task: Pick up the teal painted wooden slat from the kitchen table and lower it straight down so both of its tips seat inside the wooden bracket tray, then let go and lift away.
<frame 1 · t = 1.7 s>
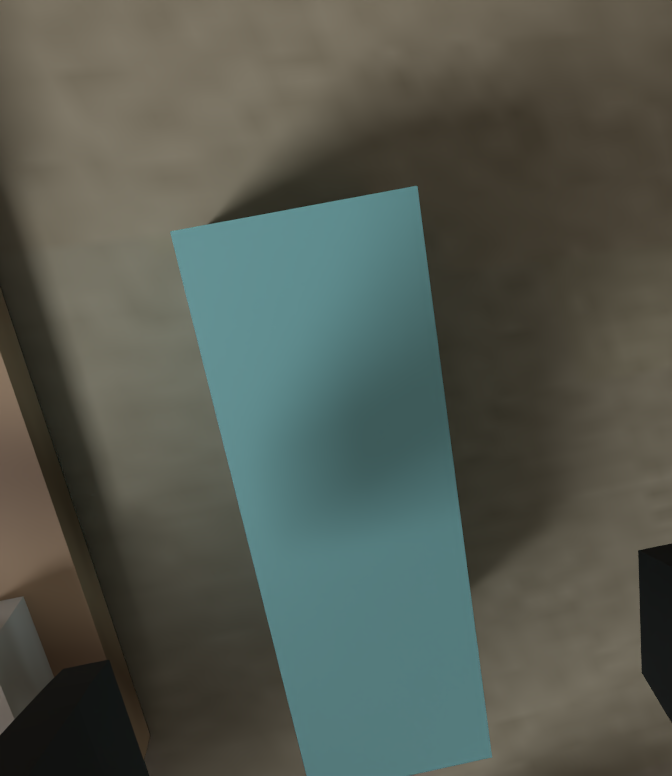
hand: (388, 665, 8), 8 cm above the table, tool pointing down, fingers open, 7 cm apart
slat: (334, 440, 16), on the table
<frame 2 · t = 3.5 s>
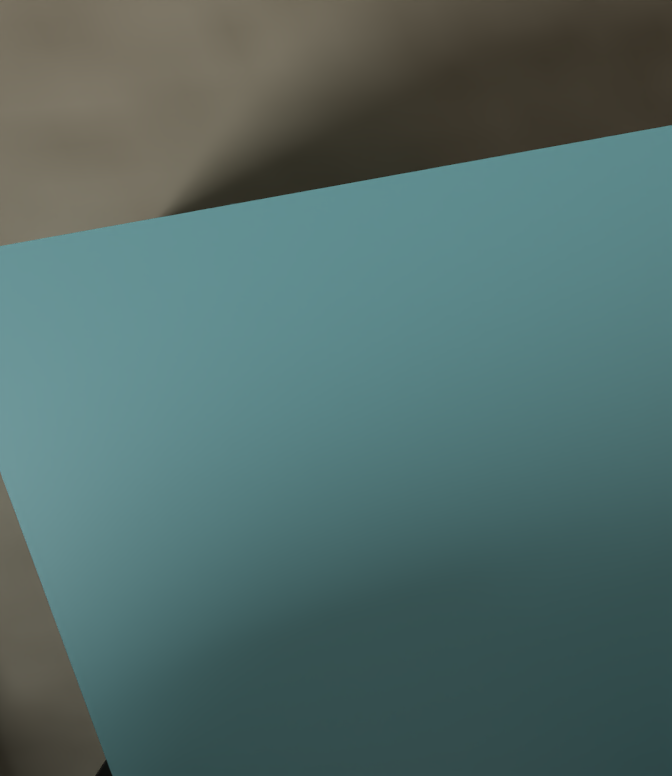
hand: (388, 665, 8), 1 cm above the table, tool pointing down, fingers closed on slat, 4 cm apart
slat: (372, 595, 9), on the table, touching gripper
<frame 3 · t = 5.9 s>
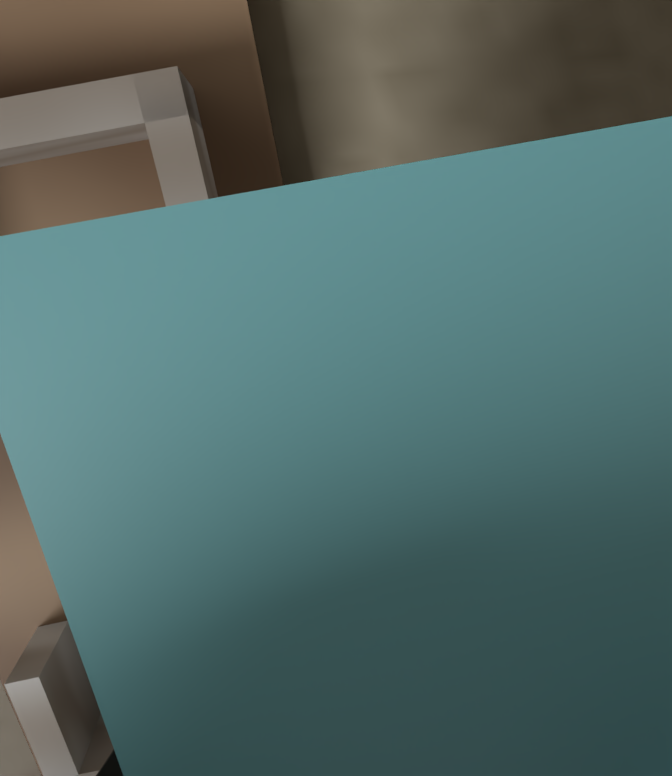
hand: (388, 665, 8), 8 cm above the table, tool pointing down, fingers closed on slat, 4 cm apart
slat: (372, 590, 10), point 7 cm above the table, touching gripper
wooden bracket tray: (138, 446, 16), on the table
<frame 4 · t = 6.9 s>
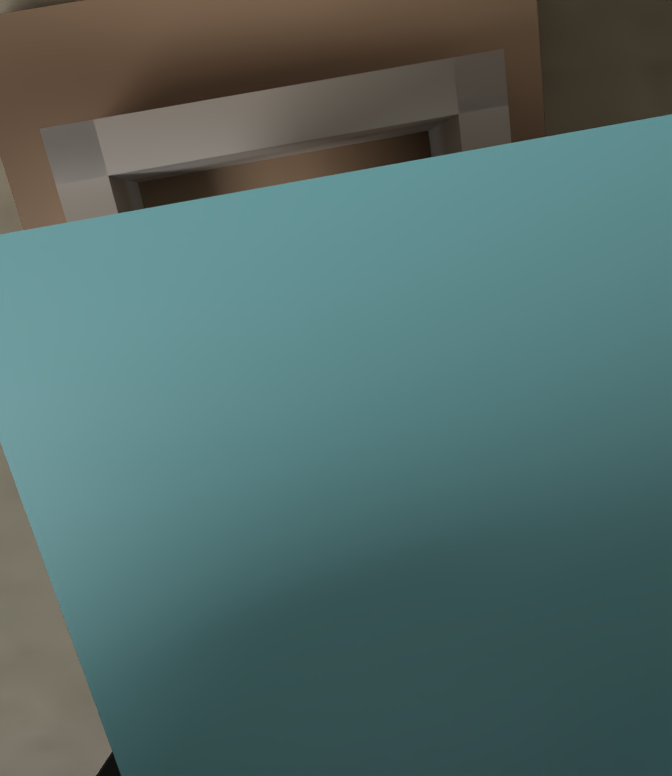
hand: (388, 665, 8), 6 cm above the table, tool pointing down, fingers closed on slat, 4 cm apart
slat: (370, 589, 10), point 5 cm above the table, touching gripper
wooden bracket tray: (341, 473, 14), on the table
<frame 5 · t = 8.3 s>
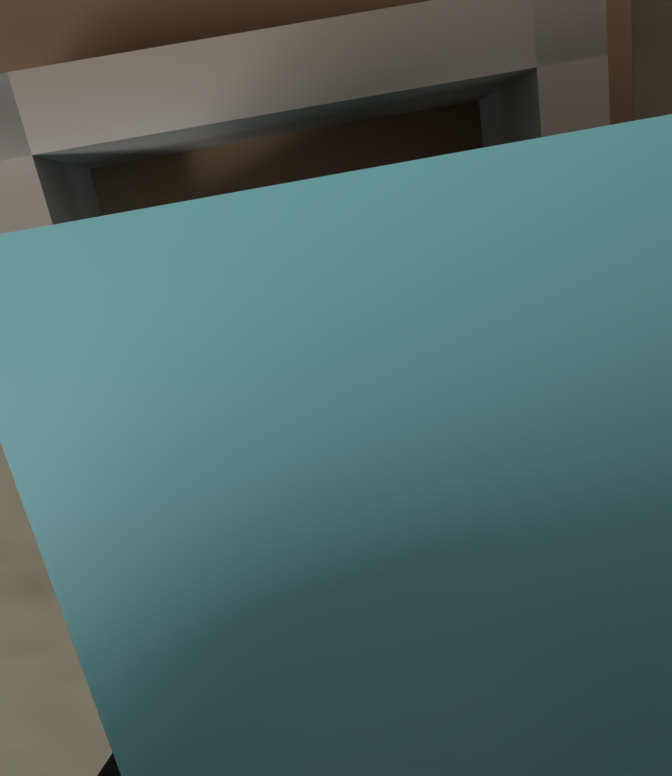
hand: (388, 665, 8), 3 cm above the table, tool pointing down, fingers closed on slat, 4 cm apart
slat: (370, 589, 10), point 2 cm above the table, touching gripper
wooden bracket tray: (357, 535, 11), on the table
when the fingers open (3 cm above the table, at t = 8.3 s): slat stays where it is, resting on wooden bracket tray.
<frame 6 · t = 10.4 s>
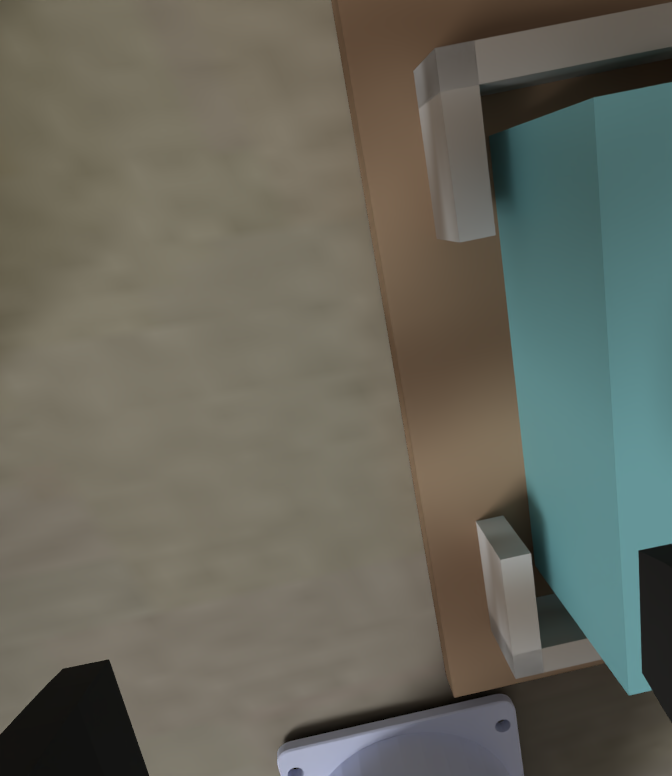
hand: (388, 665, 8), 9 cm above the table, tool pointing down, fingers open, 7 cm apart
slat: (586, 358, 16), point 1 cm above the table, touching wooden bracket tray
wooden bracket tray: (569, 354, 17), on the table
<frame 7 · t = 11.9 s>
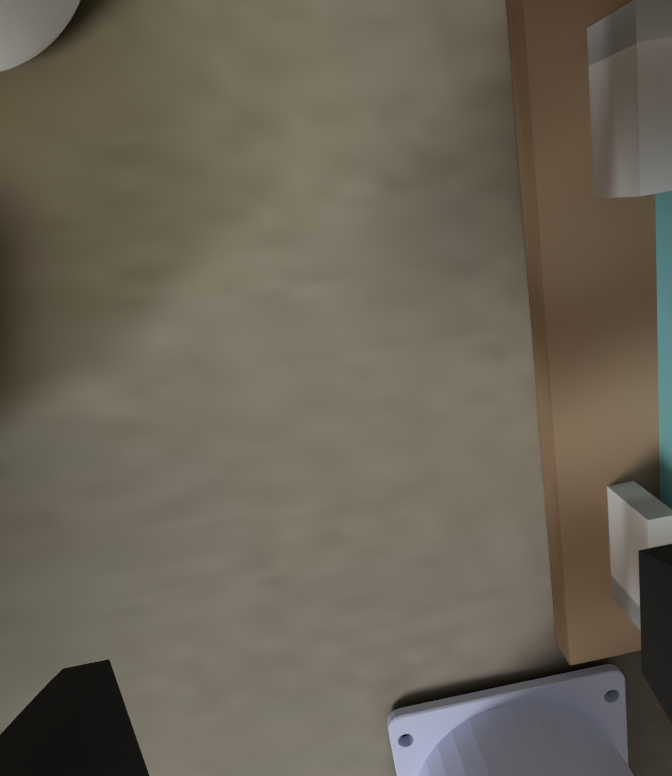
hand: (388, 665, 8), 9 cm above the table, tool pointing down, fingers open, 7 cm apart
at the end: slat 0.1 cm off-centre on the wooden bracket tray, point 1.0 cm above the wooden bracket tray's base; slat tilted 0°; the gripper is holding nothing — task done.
